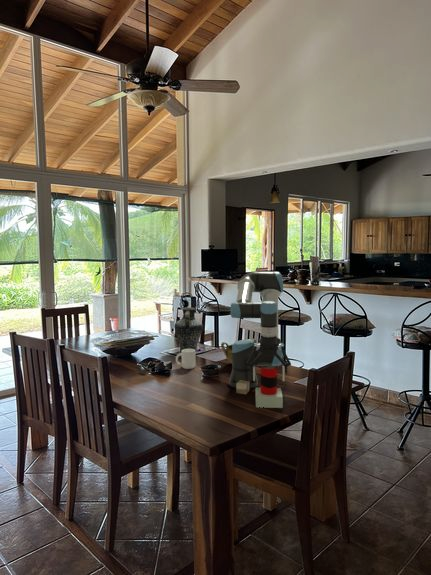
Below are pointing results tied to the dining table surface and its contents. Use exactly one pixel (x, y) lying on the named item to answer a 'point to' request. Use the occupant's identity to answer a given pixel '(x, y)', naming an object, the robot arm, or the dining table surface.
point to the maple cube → (242, 387)
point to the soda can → (268, 380)
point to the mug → (187, 358)
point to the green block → (269, 399)
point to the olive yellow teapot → (229, 350)
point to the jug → (188, 329)
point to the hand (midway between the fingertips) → (268, 380)
